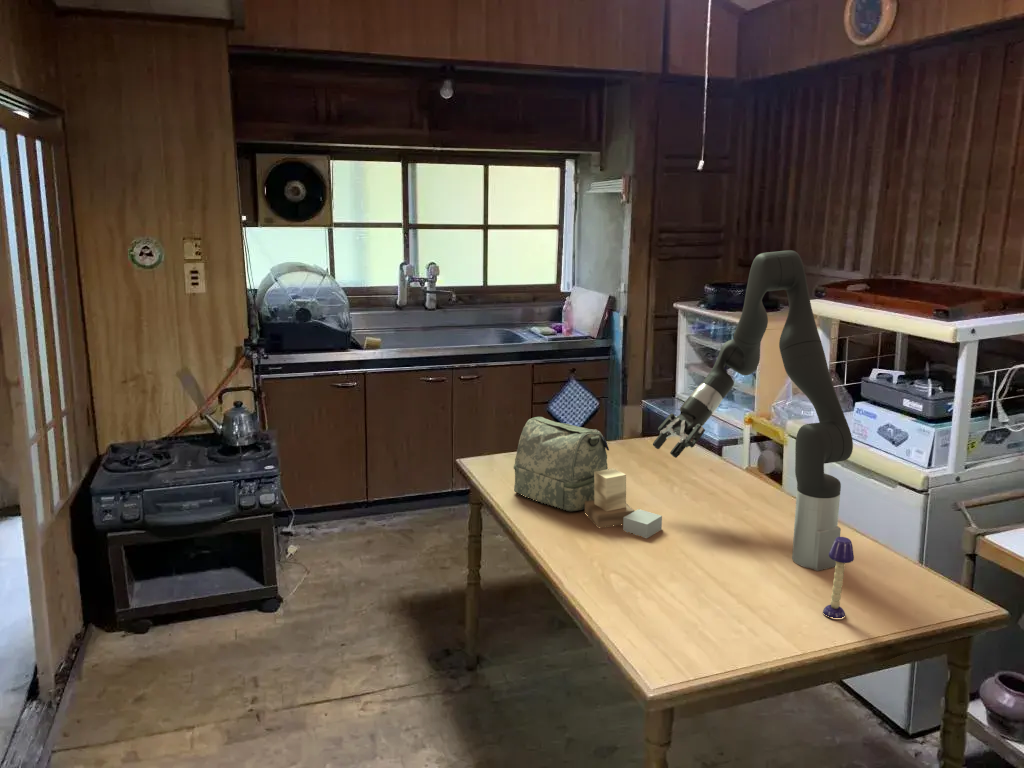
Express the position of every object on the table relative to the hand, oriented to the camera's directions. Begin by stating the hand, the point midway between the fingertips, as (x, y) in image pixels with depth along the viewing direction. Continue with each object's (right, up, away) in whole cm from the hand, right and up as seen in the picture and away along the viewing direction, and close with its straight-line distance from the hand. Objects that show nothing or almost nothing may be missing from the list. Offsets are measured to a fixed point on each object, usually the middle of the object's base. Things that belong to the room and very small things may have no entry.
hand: (663, 451), depth 211 cm
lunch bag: (-26, -15, +16) cm, 34 cm away
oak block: (-14, -14, 0) cm, 20 cm away
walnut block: (-14, -18, +1) cm, 23 cm away
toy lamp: (+26, -29, -49) cm, 63 cm away
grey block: (-7, -20, -7) cm, 22 cm away
